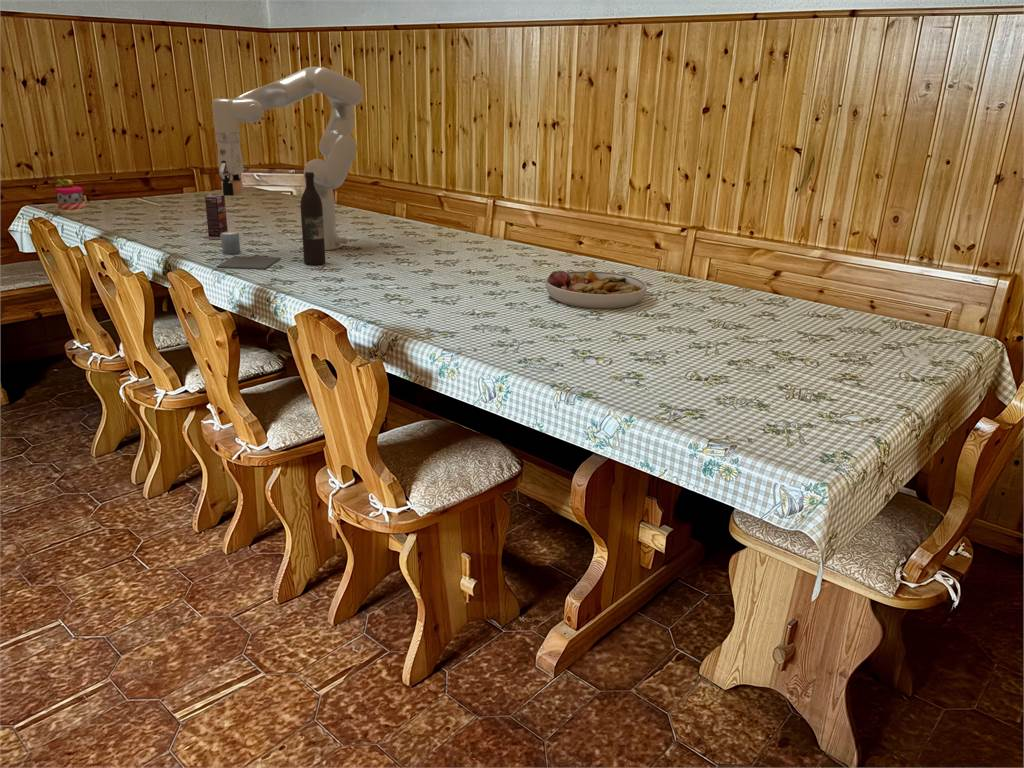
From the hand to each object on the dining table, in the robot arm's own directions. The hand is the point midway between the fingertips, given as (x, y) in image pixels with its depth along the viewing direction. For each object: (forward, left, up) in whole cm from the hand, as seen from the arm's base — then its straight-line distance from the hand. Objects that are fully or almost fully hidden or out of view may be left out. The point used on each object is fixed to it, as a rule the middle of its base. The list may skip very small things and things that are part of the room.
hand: (232, 193), depth 265 cm
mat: (-7, +9, -22) cm, 24 cm away
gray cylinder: (+5, -7, -22) cm, 23 cm away
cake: (+101, -76, -22) cm, 128 cm away
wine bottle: (-28, +5, -22) cm, 36 cm away
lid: (0, 0, 0) cm, 0 cm away
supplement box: (+20, -34, -22) cm, 45 cm away
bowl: (-121, +37, -22) cm, 128 cm away
